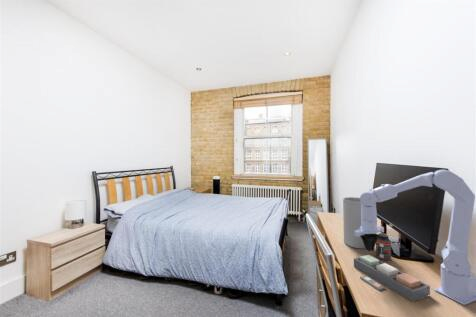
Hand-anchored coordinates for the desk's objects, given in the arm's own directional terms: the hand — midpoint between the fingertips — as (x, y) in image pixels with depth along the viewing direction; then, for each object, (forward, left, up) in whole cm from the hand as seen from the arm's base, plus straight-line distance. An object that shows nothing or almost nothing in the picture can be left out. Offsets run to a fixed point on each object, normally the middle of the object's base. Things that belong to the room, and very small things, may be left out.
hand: (369, 250), depth 88 cm
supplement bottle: (-15, -5, -9) cm, 18 cm away
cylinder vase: (-16, -21, -9) cm, 28 cm away
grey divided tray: (0, +8, -8) cm, 11 cm away
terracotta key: (0, +15, -7) cm, 16 cm away
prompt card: (+8, +8, -8) cm, 14 cm away
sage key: (0, 0, -7) cm, 7 cm away
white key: (0, +8, -7) cm, 10 cm away
